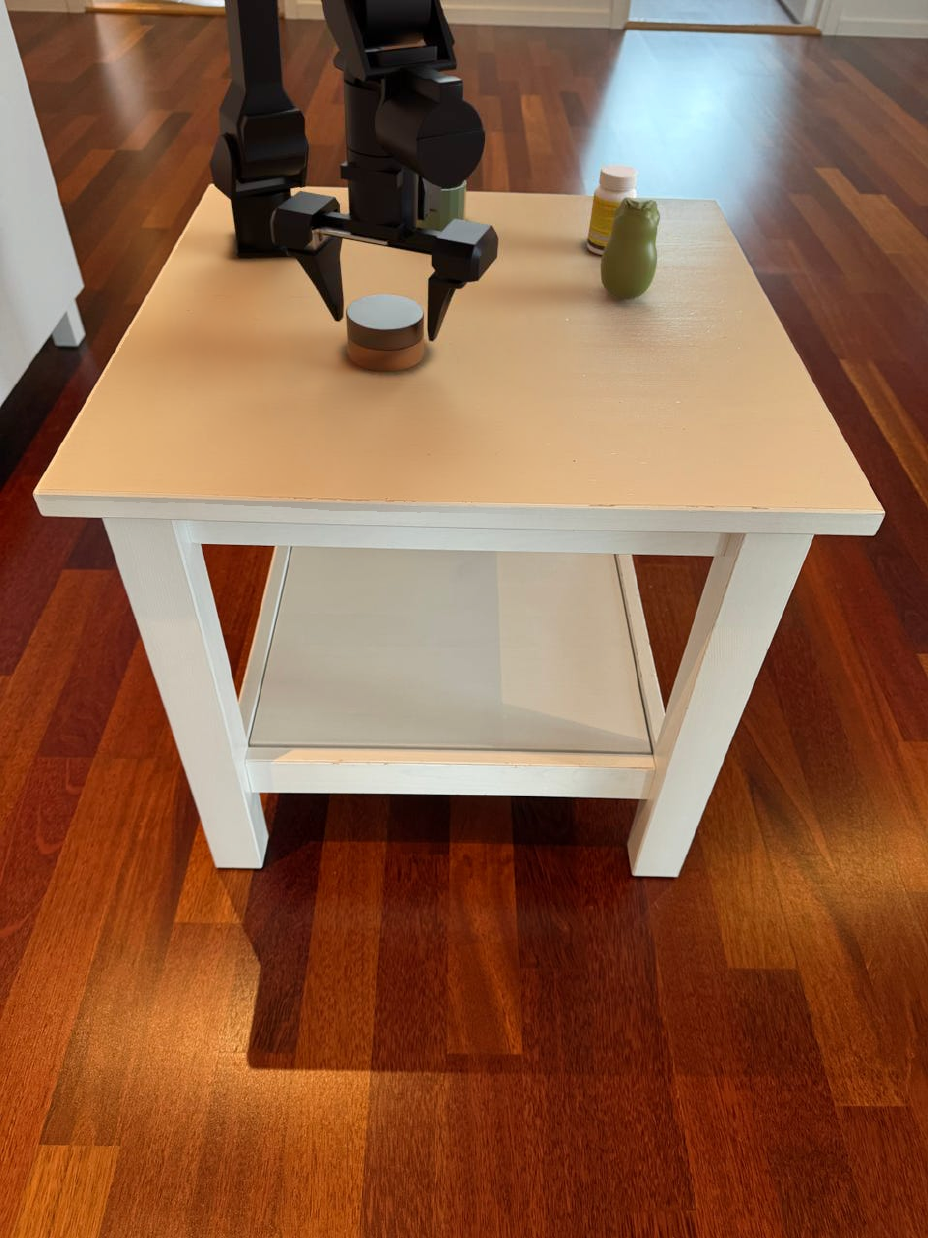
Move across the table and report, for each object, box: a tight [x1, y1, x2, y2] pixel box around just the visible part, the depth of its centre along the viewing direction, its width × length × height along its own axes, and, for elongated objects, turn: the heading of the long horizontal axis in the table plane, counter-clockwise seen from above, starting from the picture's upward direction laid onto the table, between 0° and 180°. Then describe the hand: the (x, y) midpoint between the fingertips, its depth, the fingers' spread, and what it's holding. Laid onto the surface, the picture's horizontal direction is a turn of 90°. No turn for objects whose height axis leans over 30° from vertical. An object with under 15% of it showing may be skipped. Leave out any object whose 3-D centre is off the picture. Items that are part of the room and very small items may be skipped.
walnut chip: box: [345, 293, 425, 350], centre depth 83 cm, size 7×7×2 cm
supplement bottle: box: [586, 164, 639, 256], centre depth 101 cm, size 5×5×8 cm
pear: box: [600, 197, 661, 301], centre depth 92 cm, size 6×5×10 cm
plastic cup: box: [418, 179, 468, 232], centre depth 105 cm, size 6×6×5 cm
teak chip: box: [346, 333, 425, 372], centre depth 84 cm, size 7×7×2 cm
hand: (385, 329), depth 83 cm, fingers open, 9 cm apart
